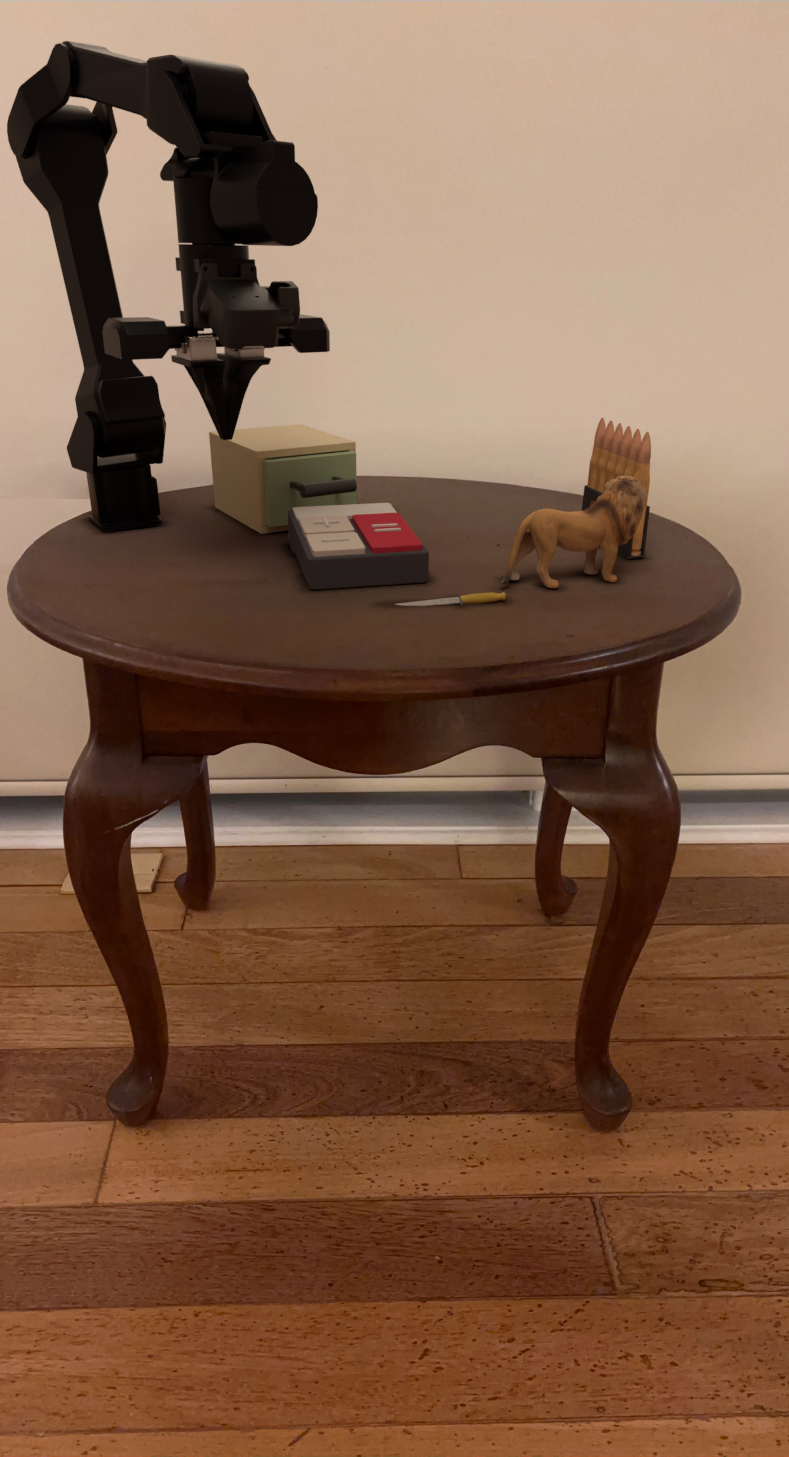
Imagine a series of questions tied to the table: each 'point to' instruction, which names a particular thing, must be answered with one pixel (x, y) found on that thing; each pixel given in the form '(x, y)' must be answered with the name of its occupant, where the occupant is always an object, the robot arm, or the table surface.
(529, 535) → the lion figurine
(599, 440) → the ammunition clip
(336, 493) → the drawer
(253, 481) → the cabinet
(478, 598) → the dagger
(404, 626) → the table surface
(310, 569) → the calculator
